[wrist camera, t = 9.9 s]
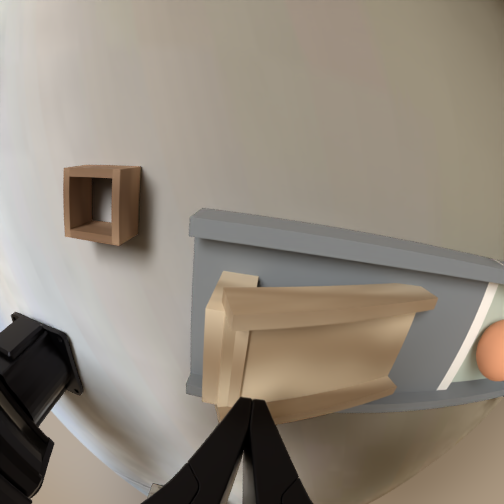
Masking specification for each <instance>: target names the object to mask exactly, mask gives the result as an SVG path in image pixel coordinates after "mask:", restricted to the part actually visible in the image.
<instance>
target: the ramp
mask: <svg viewBox="0 0 504 504" xmlns="http://www.w3.org/2000/svg"><path fill="white" fill-rule="evenodd" d="M258 277H259V276H254V275H247V274H241V273H234V272H228V271H223V272H222V274H221V276H220V279H219V281H218V283H217V285H216V287H215V289H214V291H213V293H212V296H211V298H210V300H209V302H208V304H207V306H206V310H205V329H204V351H203V379H202V402H206V403H211V404H215V408H216V412H217V417H218V421H219V423H220V422H221V421H222V419H223V418H224V417H225V416H226V414H227V413H228V412H229V410H230V409H231V408H232V407H233V405H234V404H235V403H236V401H237V400H238V399H239V398H240V397H247V398H251V399H252V400H253V399H262V400H265V401H266V403H267V406H268V408H269V410H270V413H271V415H272V418H273V420H274V422H275V425H277V424H283V423H288V422H293V421H298V420H303V419H308V418H312V417H317V416H321V415H325V414H329V413H333V412H337V411H341V410H344V409H348V408H351V407H355V406H358V405H362V404H365V403H368V402H371V401H374V400H377V399H380V398H383V397H386V396H389V395H392V394H393V393H394V391H395V390H396V388H397V386H396V385H395V384H394V383H393V382H392V380H391V379H390V378H389V377H388V374H389V372H390V370H391V368H392V366H393V364H394V362H395V360H396V358H397V356H398V354H399V352H400V349H401V347H402V345H403V343H404V341H405V338H406V336H407V334H408V331H409V329H410V327H411V324H412V322H413V319H414V317H415V314H416V312H422V311H428V310H433V309H434V308H435V306H436V303H437V300H438V298H437V297H436V296H435V295H433V294H432V293H430V292H429V291H427V290H426V289H424V288H423V287H421V286H415V285H407V284H400V283H387V284H365V285H340V286H306V287H257V283H258Z"/></svg>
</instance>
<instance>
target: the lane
mask: <svg viewBox="0 0 504 504" xmlns="http://www.w3.org/2000/svg"><path fill="white" fill-rule="evenodd" d="M189 236H191V237H195V244H194V260H193V281H192V307H191V373H190V376H189V378H188V381H187V384H186V394H189V395H194V396H199V397H202V379H203V351H204V329H205V310H206V306H207V304H208V302H209V300H210V298H211V296H212V293H213V291H214V289H215V287H216V285H217V283H218V281H219V279H220V276H221V274H222V272H223V271H228V272H234V273H241V274H247V275H254V276H259V277H258V283H257V287H306V286H340V285H365V284H387V283H400V284H407V285H415V286H421V287H423V288H424V289H426V290H427V291H429V292H430V293H432V294H433V295H435V296H436V297H437V298H438V300H437V303H436V306H435V308H434V309H433V310H428V311H422V312H416V314H415V317H414V319H413V322H412V324H411V327H410V329H409V331H408V334H407V336H406V338H405V341H404V343H403V345H402V347H401V349H400V352H399V354H398V356H397V358H396V360H395V362H394V364H393V366H392V368H391V370H390V372H389V374H388V377H389V378H390V379H391V380H392V382H393V383H394V384H395V385H396V386H397V388H396V390H395V391H394V393H393V394H392V395H389V396H386V397H383V398H380V399H377V400H374V401H371V402H368V403H365V404H362V405H358V406H355V407H351V408H348V409H344V410H341V411H337V412H333V413H383V412H402V411H415V410H425V409H434V408H442V407H449V406H456V405H462V404H468V403H473V402H478V401H483V400H488V399H493V398H497V397H501V396H504V381H492V380H489V379H487V378H486V377H485V376H484V375H483V374H482V373H481V372H480V370H479V368H478V365H477V361H476V350H477V345H478V342H479V340H480V338H481V336H482V334H483V333H484V331H485V330H486V329H487V328H488V327H489V326H490V325H492V324H493V323H495V322H497V321H500V320H504V262H503V261H499V260H495V259H491V258H486V257H482V256H478V255H473V254H469V253H464V252H460V251H455V250H451V249H446V248H441V247H437V246H432V245H427V244H422V243H417V242H412V241H407V240H402V239H397V238H391V237H386V236H381V235H375V234H370V233H364V232H359V231H353V230H347V229H342V228H336V227H330V226H324V225H318V224H311V223H305V222H299V221H292V220H286V219H279V218H272V217H266V216H259V215H252V214H244V213H237V212H230V211H222V210H214V209H206V208H202V209H201V210H199V211H198V212H196V213H195V214H193V215H192V216H191V217H190V224H189Z"/></svg>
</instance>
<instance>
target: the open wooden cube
mask: <svg viewBox="0 0 504 504" xmlns="http://www.w3.org/2000/svg"><path fill="white" fill-rule="evenodd" d="M140 174H141V167H139V166H115V165H82V166H75V167H68V168H64V184H63V196H64V226H65V237H71V238H77V239H82V240H88V241H94V242H100V243H105V244H111V245H117V246H120V245H121V244H123V243H125V242H126V241H128V240H129V239H131V238H133V237H134V236H136V235H137V234H138V223H139V192H140ZM92 177H97V178H112V223H110V222H103V221H95V220H92Z"/></svg>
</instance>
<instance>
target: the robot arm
mask: <svg viewBox="0 0 504 504" xmlns="http://www.w3.org/2000/svg"><path fill="white" fill-rule="evenodd" d="M11 318H12V321H13V323H12V324H10V325H9V326H8V327H7V328H5V329H4V330H3V331H2V332H1V333H0V504H31V503H32V500H31V499H30V498H32V497H33V496H34V495H35V494H37V492H38V491H39V489H40V488H41V486H42V483H43V480H44V476H45V473H46V469H47V466H48V462H49V459H50V456H51V453H52V449H53V446H54V442H53V441H52V440H51V439H50V438H49V437H47V436H46V435H45V434H44V433H43V432H42V431H41V430H40V428H39V425H40V424H41V423H42V421H43V420H44V419H45V417H46V416H47V414H48V413H49V412H50V411H51V409H52V408H53V407H54V405H55V404H56V403H57V401H58V400H59V399H60V397H61V396H62V395H63V393H64V392H65V391H66V390H68V391H70V392H73V393H75V394H77V395H81V394H82V393H83V388H82V385H81V382H80V379H79V376H78V373H77V370H76V367H75V364H74V361H73V357H72V354H71V350H70V347H69V343H68V339H67V337H66V335H65V334H64V333H63V332H61V331H59V330H56V329H54V328H51V327H49V326H46V325H44V324H42V323H39V322H37V321H35V320H32V319H30V318H28V317H26V316H23V315H21V314H19V313H17V312H14V313H13V314H12V315H11ZM243 451H244V453H243ZM242 455H243V503H242V504H313V503H312V501H311V500H310V498H309V496H308V494H307V492H306V490H305V488H304V487H303V484H302V482H301V480H300V478H298V477H299V476H298V474H297V472H296V470H295V467H294V465H293V463H292V461H291V459H290V456H289V454H288V452H287V450H286V447H285V445H284V443H283V441H282V438H281V436H280V434H279V431H278V429H277V427H276V425H275V422H274V420H273V418H272V415H271V413H270V410H269V408H268V406H267V403H266V401H265V400H262V399H253V400H252V399H251V398H247V397H240V398H239V399H238V400H237V401H236V403H235V404H234V405H233V407H232V408H231V409H230V410H229V412H228V413H227V414H226V416H225V417H224V418H223V419H222V421H221V422H220V423H219V424H218V426H217V427H216V428H215V429H214V431H213V432H212V433H211V434H210V436H209V437H208V438H207V439H206V440H205V442H204V443H203V444H202V445H201V446H200V448H199V449H198V450H197V451H196V452H195V454H194V455H193V456H192V457H191V458H190V459H189V461H188V463H186V464H185V465H184V466H183V467H182V468H181V469H180V471H179V472H178V473H177V474H176V475H175V476H174V477H173V478H172V479H171V480H170V481H169V482H167V483H166V484H165V485H164V486H163V487H162V488H160V489H159V490H158V491H157V492H155V493H154V494H153V495H152V496H150V497H149V498H148V499H146V500H145V501H144V502H142V503H141V504H227V501H228V498H229V495H230V492H231V489H232V486H233V483H234V480H235V477H236V474H237V471H238V468H239V465H240V462H241V459H242Z"/></svg>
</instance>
